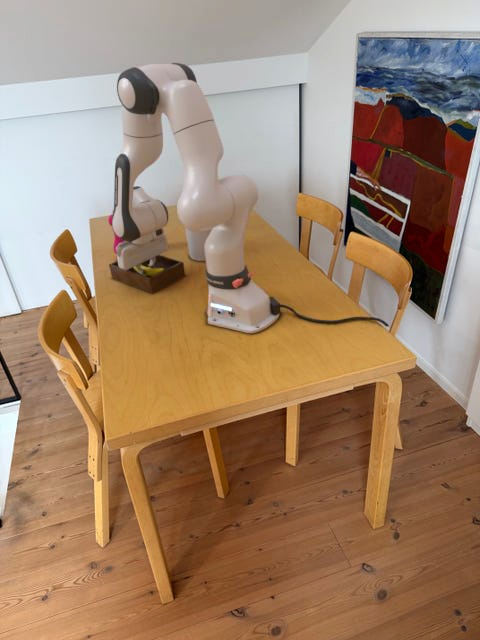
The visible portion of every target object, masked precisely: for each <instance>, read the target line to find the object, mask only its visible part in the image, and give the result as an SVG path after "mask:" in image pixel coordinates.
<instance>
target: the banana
mask: <svg viewBox="0 0 480 640" xmlns="http://www.w3.org/2000/svg"><path fill="white" fill-rule="evenodd" d="M140 267H141V268H143V269H145V274H143V275H144V276H154V275H156V274H158V273H160V272H162V271H164V269H163V268H158V269H157V268H149V267H145V266H143V265H142V266H140ZM133 268H134V269H135V270H136V271H137V272H138V273H139V270H138V269H137V268H136V267H135V266H134V267H133Z"/></svg>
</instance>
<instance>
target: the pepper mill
mask: <svg viewBox="0 0 480 640" xmlns="http://www.w3.org/2000/svg"><path fill="white" fill-rule="evenodd" d="M113 211H114V209H112V211H111V212H112V213H111V214H110V215H109V217H108V224H109V226H111V231H112V232H113V235H114V242H113V252H114V253H115V254H116V255H117V253H116V248H117V246H118V244H119V243H121V242H124V240H122V239H120V238H119V237H117V236H116V234H115V233H114V231H113V228H112V216H113Z"/></svg>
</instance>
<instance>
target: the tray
mask: <svg viewBox="0 0 480 640" xmlns="http://www.w3.org/2000/svg"><path fill="white" fill-rule="evenodd" d="M149 264H150V259H149V260H147V261H145V262H143V263H141V265H143V266H145V267H148V265H149ZM108 267H109V270H110V276H111V278H112V279H113V280H115V281H117V282H121V283H124V284H126V285H129V286H132V287H134V288H136V289H139V290H141V291H144V292H147V293H149V294H152V295H153V294H155V293H156V292H158V291H160V290H162V289H164V288H166V287H167V286H170V285H171V284H174V283H175V282H177V281H179V280H181V279H183V278H185V277H186V272H185V271H186V270H185V265H184V261H181V260H178V259H174V258H171V257H167V256H164V255H162V254H160V255H158V256H156V260H155V264H154V267H155V268H157V269H158V268H163V269H164V271H162V272H160V273H158V274H156V275H154V276H144V275H141V274H139V273H138V272H137V271H136V270H135V269H134V268H133V267H132V268H130V269H128V270H124V269H121V268H120V267H119V266H118V260H116V261H114V262H111V263H109V264H108Z"/></svg>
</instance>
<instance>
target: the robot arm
mask: <svg viewBox="0 0 480 640" xmlns="http://www.w3.org/2000/svg"><path fill="white" fill-rule="evenodd" d="M116 93H117V96H118V100H119V102H120V104H121V105H122V108H121V115H122V116H121V120H122V122H121V124H122V135H123V140H122V146H121V150H120V153H119V155H118V156H117V157H116V160H115V165H114V185H113V186H114V191H113V203H114V204H113V210H114V211H113V210H112V211H113V213H112V214H113V216H112V226H111V229H112V228H113V231H114V232H113V231H112V232H113V234H114V233H115V234H116V236H117V237H119V238H120V239H122V240H124V242H121V243H119V244H118V246H117V248H116V253H117V254H116V253H115V254H116V261H118V266H119V267H120V268H121V269H124V270H128V269H130V268H132V267H134V266H135V267H136V268H137V269H138V270H139V274H141V275H143V274H145V269H143V268H141V267H140V266H142V265H141V263H143V262H145V261H147V260H149V259H150V264H149V265H148V267H149V268H155V267H154V264H155V260H156V256H158V255H162V254H164V253H167V252H168V250H169V242H168V238H167V235H166V234H165V233H166V231H165V227H167V225H168V223H169V210H168V208H167V205H165V203H163V201H161V200H159V199H155V198H153V197H151V196H150V195H148V194H147V193H146V191H145V190H144V188H143V187H142V186H140V185H139V186H138V185H137V186H136V185H135V182H136V180H137V179H138V177H139V176H140V175H141V174H142V173H143V172H144V171H145V170H146V169H148V168H149V167H151V166H152V165H154V163H156V162H157V160H158V159H159V158H160V156H161V155H162V153H163V148H164V132H163V122H162V115H165V116H166V117H167V119H168V122H169V125H170V129H171V131H172V134H173V138H174V141H175V143H176V146H177V149H178V153H179V156H180V159H181V163H182V168H183V188H182V192H181V195H180V197H179V198H178V201H177V205H176V213H177V217H178V220H179V222H180V224H181V225H182V226H183V227H184V229H185V228H187V229H188V230H190V231H192V232H197V231H204V230H209V229H212V231H211V233H210V235H209V236H208V238H207V239H206V242H205V245H204V250H205V258H206V261H205V266H206V269H205V279H206V283H207V284H208V299H207V301H208V303H207V308H206V315H207V324H209V325H211V326H215V327H221V328H224V329H229V330H233V331H238V332H241V333H245V334H256V333H259V332H262V331H263V330H265V329H267V328H269V327H271V326H272V325H273V324H274V323H275V322H276V321H277V320H278V319H279V317H280V314H281V313H282V312H281V308H283V309H286V310H289V311H291V312H292V313H293V315H295V316H296V317H298V318H300V319H303V320H305V321H309V322H312V323H313V322H314V323H321V324H339V323H344V322H350V321H356V320H364V321H366V320H367V321H376V322H379V323H381V324H383V325H384V326H385V327H390V325H389V324H388V323H387V322H386V321H385V320H384V319H381V318H379V317H373V316H351V317H347V318H342V319H335V320H334V319H333V320H328V319H327V320H326V319H316V318H310V317H307V316H304V315H302V314H300V313H298V312H297V311H296V310H295V309H294V308H292V307H291V306H288V305H286V304H281V303H280V302H279V301H278V300H277V299H276V298H275V297H274V296H269V295H268V294H267V293H266V292H265V290H264V289H263V288H262V287H259V285H258V284H256V282H254V281H253V280H252V276H254V274H253V273H254V271H251V272H250V271H249V270H248V267H247V265H246V264H245V262H246V261H245V260H246V259H245V236H246V235H245V234H246V229H247V225H248V221H249V218H250V216H251V213H252V211H253V209H254V207H255V206H256V205H257V202H258V199H259V191H258V187H257V185H256V183H255V181H254V180H253V179H252V178H251V177H250V176H248V175H247V174H233V175H227V176H225V177H222V178H219V175H218V174H219V173H218V171H219V170H218V168H219V164H220V161H221V160H222V158H223V156H224V151H225V150H224V145H223V142H222V139H221V137H220V133H219V131H218V127H217V124H216V121H215V118H214V115H213V112H212V109H211V107H210V105H209V102H208V100H207V98H206V96H205V93H204V92H203V90H202V88H201V86H200V85H199V84H198V81H197V78H196V74H195V73H194V70H192V68H191V67H190V66H188V65H187V64H184V63H179V62H172V63H151V64H150V63H149V64H145V65H141V66H137V67H136V66H135V67H134V66H133V67H130V68H127V69H125V70H124V71H122V72H121V73H120V74H119V75H118V77H117V82H116Z"/></svg>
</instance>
